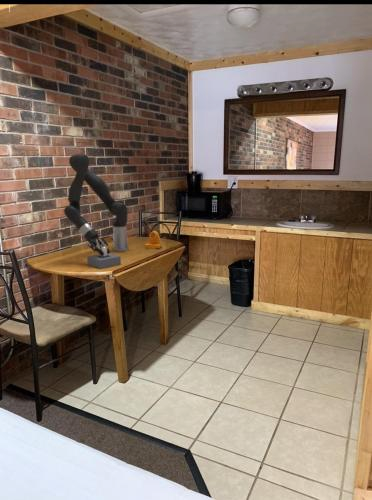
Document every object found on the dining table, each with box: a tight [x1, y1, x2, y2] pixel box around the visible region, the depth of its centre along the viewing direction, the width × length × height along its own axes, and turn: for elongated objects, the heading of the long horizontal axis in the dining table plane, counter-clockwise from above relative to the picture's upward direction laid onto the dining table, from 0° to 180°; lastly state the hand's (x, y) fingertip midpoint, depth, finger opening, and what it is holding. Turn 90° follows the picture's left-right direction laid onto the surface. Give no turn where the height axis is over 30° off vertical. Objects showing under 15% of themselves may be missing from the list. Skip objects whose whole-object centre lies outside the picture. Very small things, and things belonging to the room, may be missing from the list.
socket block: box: [86, 252, 122, 270], centre depth 218 cm, size 14×14×5 cm
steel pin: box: [100, 246, 108, 258], centre depth 217 cm, size 4×4×10 cm
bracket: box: [144, 230, 163, 250], centre depth 264 cm, size 11×7×12 cm, turn 74°
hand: (106, 253), depth 216 cm, fingers open, 5 cm apart
